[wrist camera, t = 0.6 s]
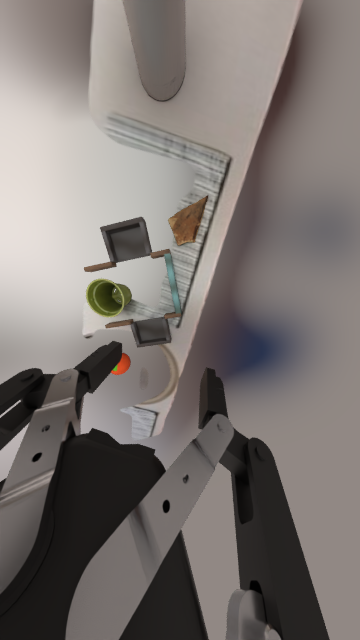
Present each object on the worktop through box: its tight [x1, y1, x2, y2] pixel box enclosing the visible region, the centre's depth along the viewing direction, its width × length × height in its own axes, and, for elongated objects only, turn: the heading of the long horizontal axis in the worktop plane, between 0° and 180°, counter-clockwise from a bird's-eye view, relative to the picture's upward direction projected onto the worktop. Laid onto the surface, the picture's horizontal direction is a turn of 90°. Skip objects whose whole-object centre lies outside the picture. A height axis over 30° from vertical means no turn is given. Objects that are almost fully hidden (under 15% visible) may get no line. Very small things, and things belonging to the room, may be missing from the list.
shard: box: [168, 195, 208, 246], centre depth 33 cm, size 11×8×2 cm
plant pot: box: [86, 279, 132, 317], centre depth 35 cm, size 9×9×9 cm
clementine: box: [111, 353, 130, 375], centre depth 43 cm, size 8×7×7 cm
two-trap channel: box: [84, 217, 182, 347], centre depth 38 cm, size 34×24×2 cm
